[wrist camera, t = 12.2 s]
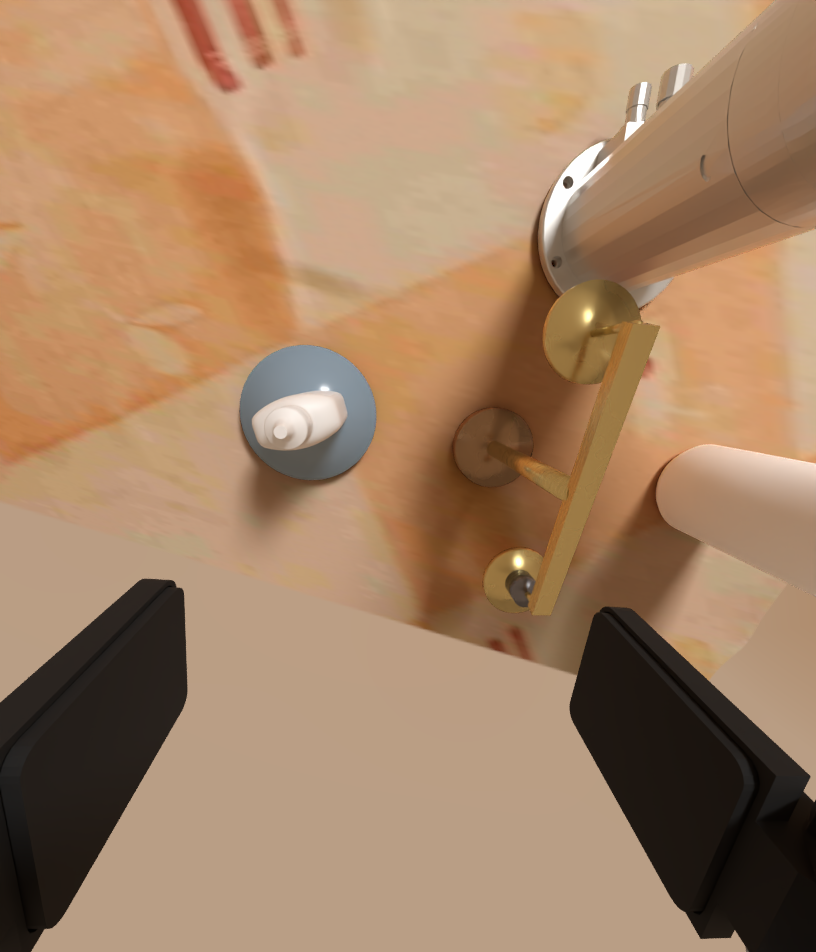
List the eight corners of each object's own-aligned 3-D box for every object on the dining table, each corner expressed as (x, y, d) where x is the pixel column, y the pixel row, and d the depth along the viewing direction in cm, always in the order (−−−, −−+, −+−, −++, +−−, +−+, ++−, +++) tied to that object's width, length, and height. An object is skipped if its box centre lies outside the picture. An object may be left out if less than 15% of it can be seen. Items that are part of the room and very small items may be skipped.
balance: (464, 317, 32) (577, 245, 15) (544, 324, 33) (740, 264, 16) (442, 553, 37) (506, 706, 20) (512, 555, 38) (632, 703, 21)
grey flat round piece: (241, 341, 31) (236, 339, 30) (379, 351, 32) (379, 350, 31) (246, 474, 34) (242, 477, 32) (373, 479, 35) (373, 482, 34)
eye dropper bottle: (283, 377, 31) (232, 375, 19) (352, 396, 32) (343, 405, 20) (273, 429, 32) (217, 458, 20) (340, 446, 33) (324, 484, 21)
